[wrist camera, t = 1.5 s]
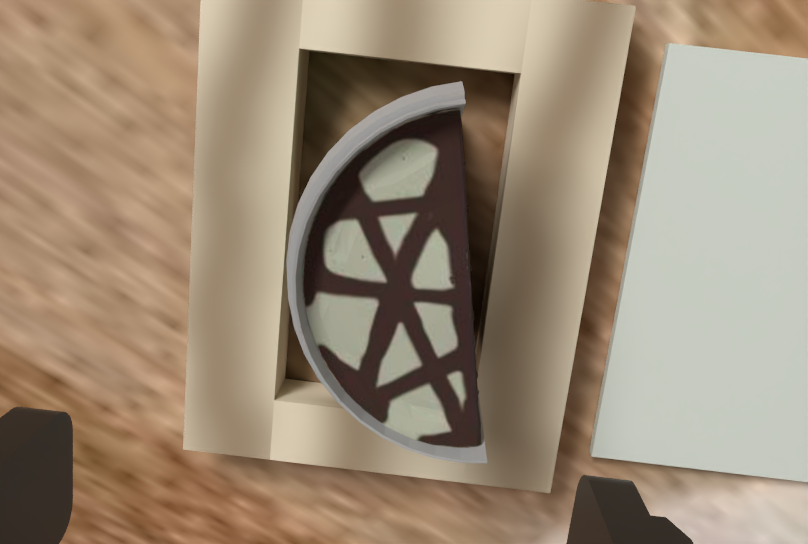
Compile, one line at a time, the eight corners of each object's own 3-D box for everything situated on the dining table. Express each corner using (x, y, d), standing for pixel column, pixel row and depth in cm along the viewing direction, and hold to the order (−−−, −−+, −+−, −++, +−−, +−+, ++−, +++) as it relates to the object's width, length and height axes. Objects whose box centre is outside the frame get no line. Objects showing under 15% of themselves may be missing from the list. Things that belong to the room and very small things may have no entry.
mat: (967, 77, 30) (975, 77, 29) (850, 482, 34) (856, 488, 34) (665, 44, 30) (669, 43, 29) (589, 451, 34) (591, 456, 34)
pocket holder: (620, 12, 30) (635, 6, 27) (542, 465, 35) (550, 493, 32) (220, -33, 30) (202, -42, 27) (200, 424, 35) (183, 449, 32)
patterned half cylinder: (306, 94, 31) (248, 98, 21) (455, 81, 31) (464, 80, 21) (337, 372, 34) (297, 488, 24) (473, 364, 34) (488, 478, 24)
